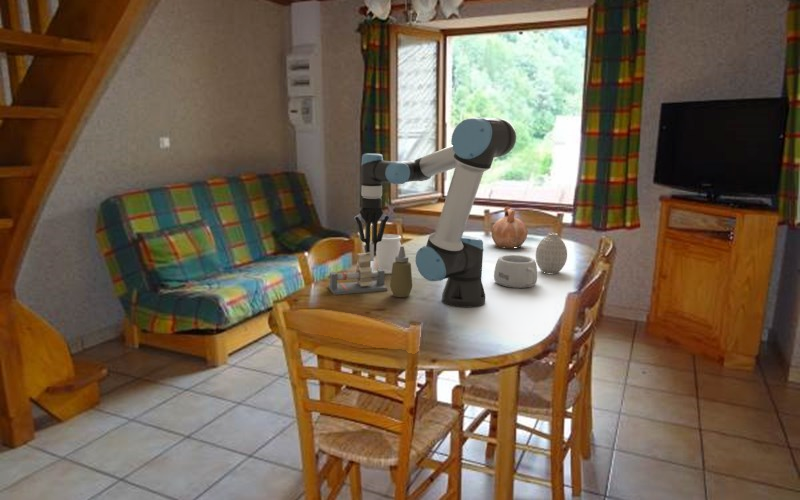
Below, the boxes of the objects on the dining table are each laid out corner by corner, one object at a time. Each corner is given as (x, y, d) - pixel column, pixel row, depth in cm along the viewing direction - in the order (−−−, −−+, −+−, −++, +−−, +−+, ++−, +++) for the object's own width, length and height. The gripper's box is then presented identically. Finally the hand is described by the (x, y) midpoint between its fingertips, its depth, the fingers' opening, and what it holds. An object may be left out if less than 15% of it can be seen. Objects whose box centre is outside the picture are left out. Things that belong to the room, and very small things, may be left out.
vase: (528, 272, 239) (531, 233, 235) (543, 266, 248) (546, 229, 245) (556, 278, 231) (559, 238, 227) (570, 272, 240) (574, 234, 236)
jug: (530, 251, 279) (532, 211, 275) (493, 250, 279) (495, 210, 275) (522, 243, 297) (525, 205, 293) (488, 242, 297) (490, 204, 293)
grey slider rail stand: (387, 290, 208) (387, 273, 207) (333, 294, 202) (333, 277, 200) (379, 283, 217) (379, 266, 216) (327, 287, 211) (327, 270, 209)
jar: (397, 275, 229) (398, 239, 226) (373, 273, 231) (373, 237, 228) (402, 269, 239) (403, 234, 236) (379, 267, 241) (379, 233, 238)
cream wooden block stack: (371, 285, 208) (371, 256, 205) (361, 286, 206) (361, 256, 204) (366, 280, 214) (366, 252, 211) (356, 281, 212) (356, 252, 210)
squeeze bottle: (404, 300, 197) (406, 250, 193) (385, 296, 202) (386, 247, 198) (416, 294, 204) (417, 246, 200) (397, 290, 208) (398, 243, 204)
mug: (485, 279, 226) (486, 255, 224) (520, 276, 232) (521, 252, 230) (516, 294, 207) (518, 268, 205) (553, 290, 213) (555, 264, 211)
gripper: (385, 195, 209) (384, 257, 215) (351, 195, 205) (351, 258, 211) (392, 198, 203) (390, 261, 208) (356, 198, 198) (356, 263, 204)
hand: (370, 260), depth 209 cm, fingers closed
